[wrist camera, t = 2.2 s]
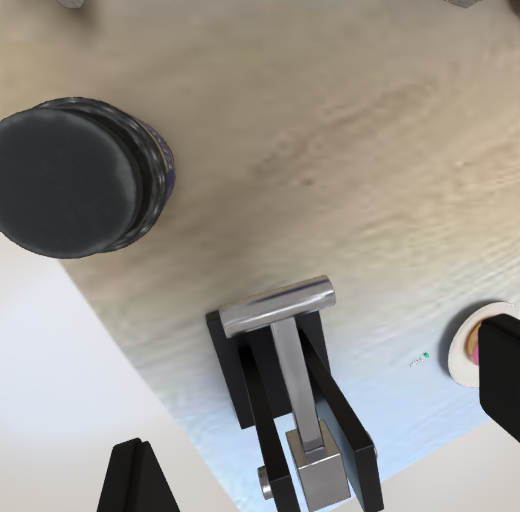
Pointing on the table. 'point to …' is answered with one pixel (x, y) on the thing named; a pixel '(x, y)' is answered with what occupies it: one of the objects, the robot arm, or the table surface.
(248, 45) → the table surface
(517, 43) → the table surface
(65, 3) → the cup
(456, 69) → the table surface
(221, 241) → the table surface
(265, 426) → the lever bracket
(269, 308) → the flush lever
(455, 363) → the donut
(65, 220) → the pill bottle
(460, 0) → the perfume bottle
